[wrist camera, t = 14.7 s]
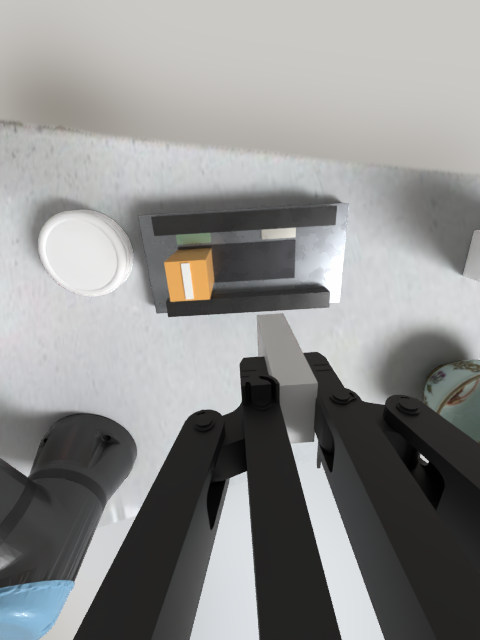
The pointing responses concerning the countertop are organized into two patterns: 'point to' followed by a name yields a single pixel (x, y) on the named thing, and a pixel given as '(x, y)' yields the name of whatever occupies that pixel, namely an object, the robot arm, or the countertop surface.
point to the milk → (473, 258)
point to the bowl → (456, 395)
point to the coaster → (85, 252)
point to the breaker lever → (190, 274)
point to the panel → (252, 257)
